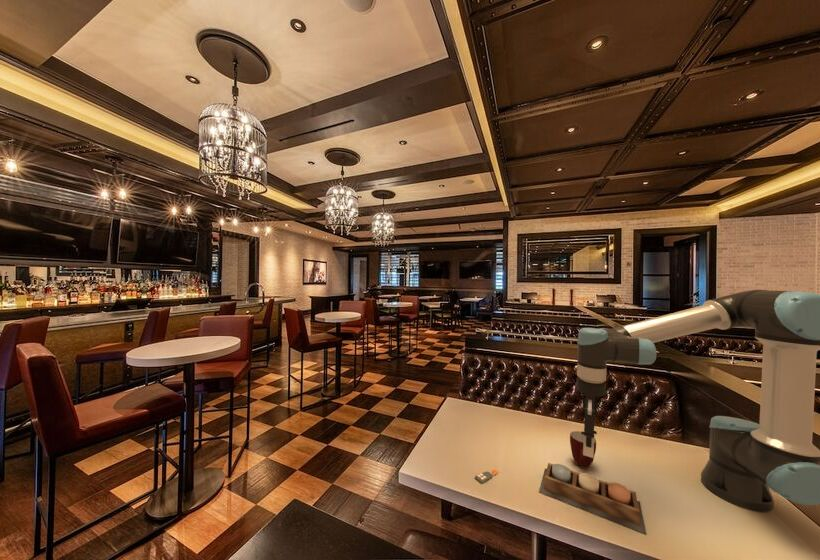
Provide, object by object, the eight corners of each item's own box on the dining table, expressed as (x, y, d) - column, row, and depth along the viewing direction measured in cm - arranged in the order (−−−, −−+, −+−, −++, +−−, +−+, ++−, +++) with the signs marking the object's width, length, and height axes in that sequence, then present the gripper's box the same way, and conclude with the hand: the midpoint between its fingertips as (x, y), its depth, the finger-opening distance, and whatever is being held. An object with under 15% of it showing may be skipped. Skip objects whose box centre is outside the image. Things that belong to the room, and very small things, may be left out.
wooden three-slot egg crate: (639, 502, 85) (640, 489, 85) (646, 535, 74) (646, 520, 74) (545, 469, 99) (545, 457, 99) (538, 492, 88) (539, 479, 88)
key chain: (482, 486, 91) (482, 481, 91) (473, 479, 94) (474, 475, 94) (508, 472, 98) (508, 467, 98) (499, 466, 101) (499, 462, 101)
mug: (599, 479, 95) (600, 450, 94) (571, 472, 98) (572, 444, 98) (593, 461, 104) (593, 434, 104) (568, 455, 107) (568, 429, 107)
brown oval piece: (629, 498, 83) (629, 487, 83) (631, 510, 79) (631, 498, 79) (607, 490, 86) (608, 480, 86) (608, 501, 82) (608, 490, 82)
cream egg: (598, 487, 88) (598, 477, 88) (598, 498, 83) (599, 487, 83) (579, 480, 90) (579, 470, 90) (578, 490, 86) (578, 480, 86)
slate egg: (570, 477, 92) (571, 467, 92) (569, 487, 87) (569, 477, 87) (553, 471, 94) (553, 461, 94) (551, 480, 90) (551, 470, 90)
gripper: (577, 370, 94) (575, 441, 95) (575, 382, 83) (572, 461, 84) (605, 375, 90) (602, 449, 90) (606, 388, 79) (603, 472, 80)
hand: (588, 455), depth 87 cm, fingers closed
